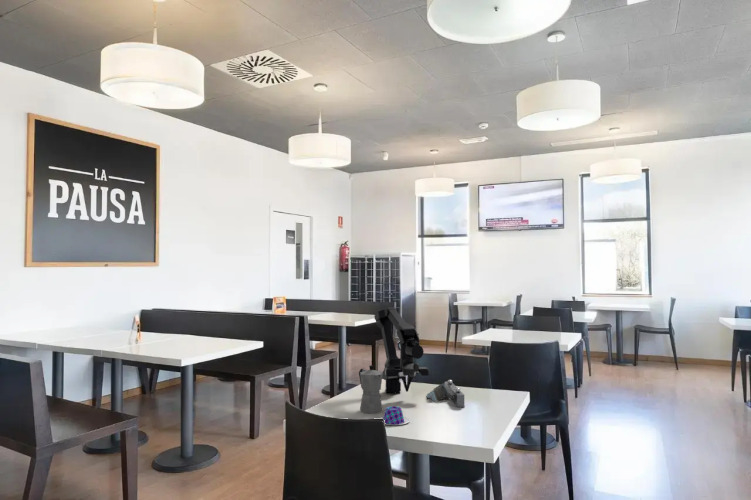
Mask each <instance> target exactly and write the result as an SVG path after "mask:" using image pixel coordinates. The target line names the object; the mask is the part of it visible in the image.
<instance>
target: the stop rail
mask: <svg viewBox="0 0 751 500" xmlns="http://www.w3.org/2000/svg"><path fill="white" fill-rule="evenodd" d="M444 385H445V387H446V389H447V391H448V394H449V400H451V402H452V403H453V404H454V405H455V406H456V408H465V394H464V393H463V392H462V391H461V387H457V386H456V385H455V383H453V380H452V379H448V380H447V381H444Z"/></svg>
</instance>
